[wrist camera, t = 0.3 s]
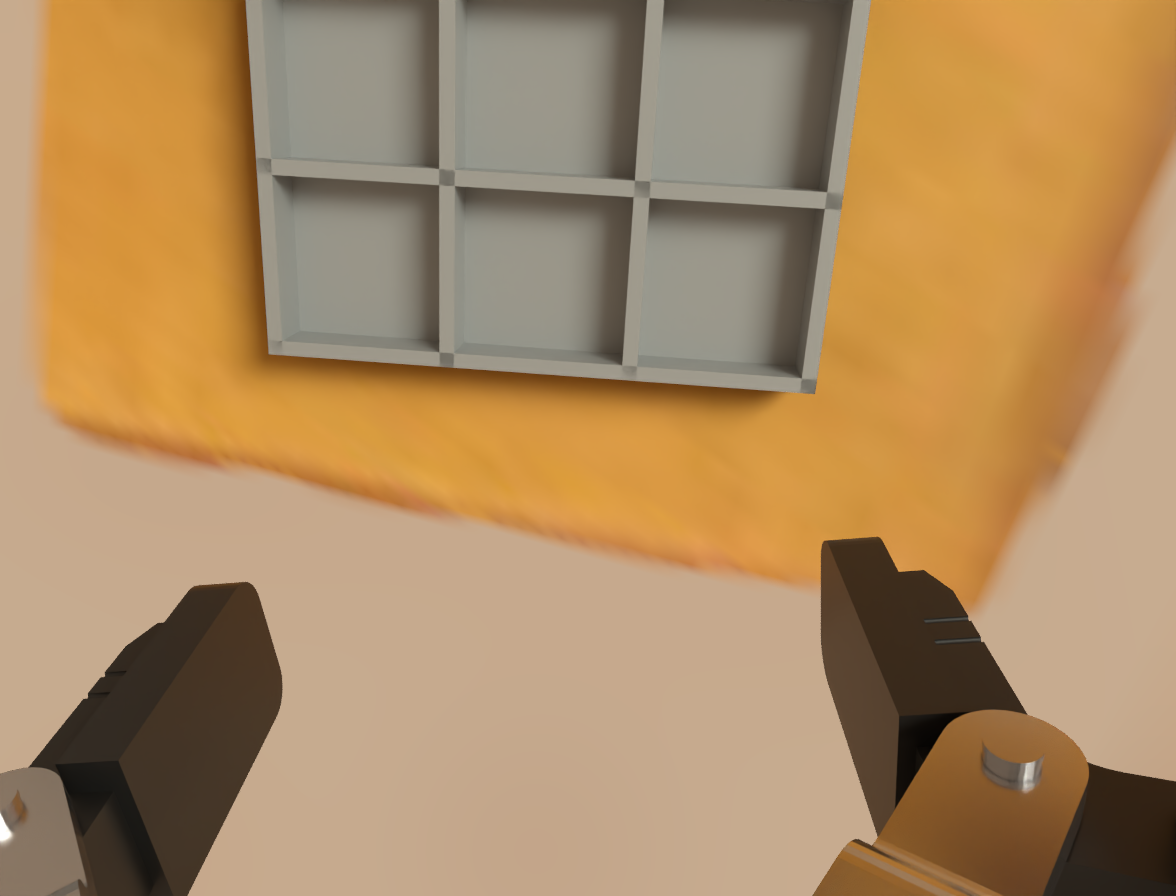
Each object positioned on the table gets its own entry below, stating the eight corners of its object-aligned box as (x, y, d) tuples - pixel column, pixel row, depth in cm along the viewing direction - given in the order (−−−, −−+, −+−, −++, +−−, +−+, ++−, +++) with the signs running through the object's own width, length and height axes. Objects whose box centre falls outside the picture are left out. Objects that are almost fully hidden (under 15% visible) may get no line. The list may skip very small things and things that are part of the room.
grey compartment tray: (271, -40, 35) (242, -51, 33) (858, -11, 34) (874, -22, 32) (292, 340, 40) (268, 354, 38) (805, 377, 39) (814, 394, 37)
